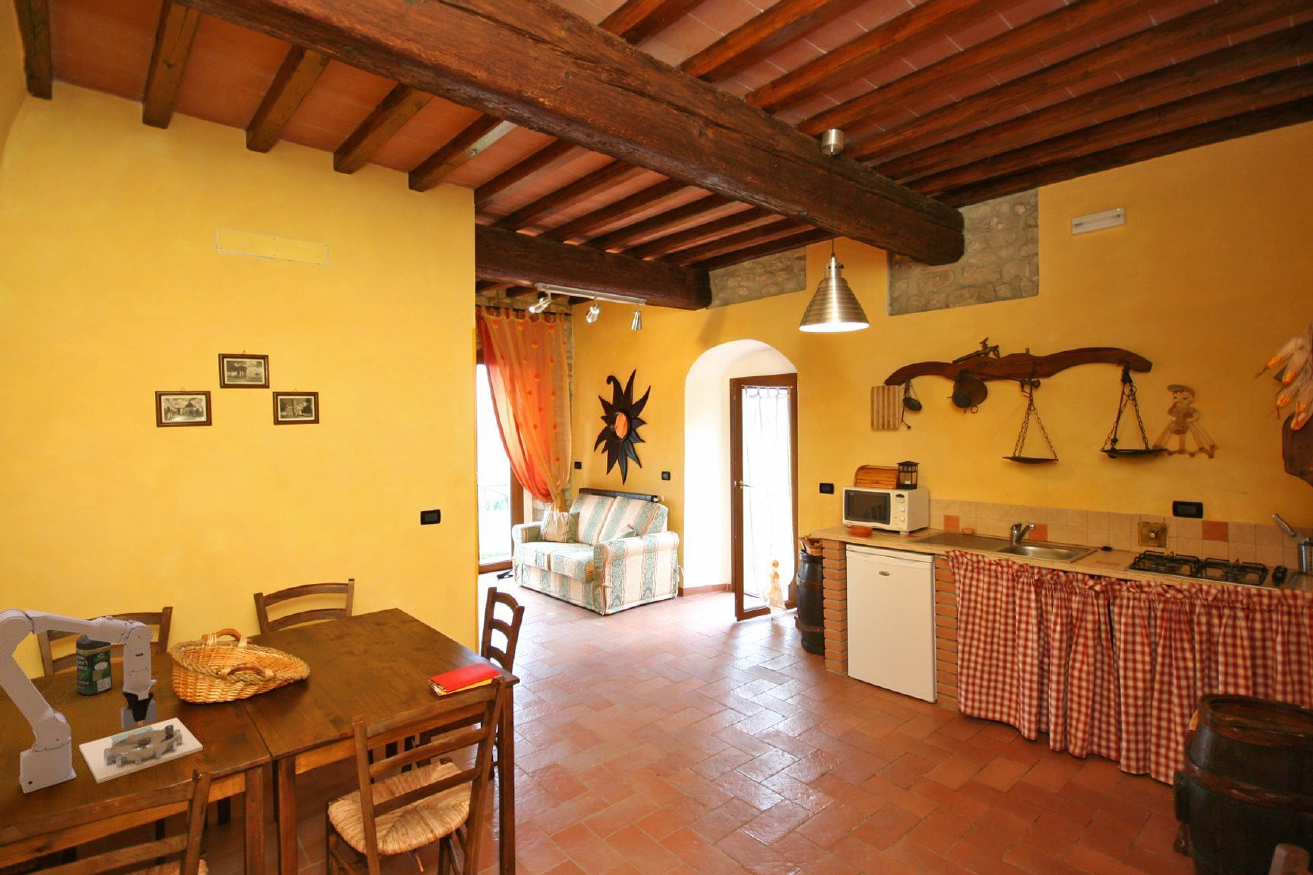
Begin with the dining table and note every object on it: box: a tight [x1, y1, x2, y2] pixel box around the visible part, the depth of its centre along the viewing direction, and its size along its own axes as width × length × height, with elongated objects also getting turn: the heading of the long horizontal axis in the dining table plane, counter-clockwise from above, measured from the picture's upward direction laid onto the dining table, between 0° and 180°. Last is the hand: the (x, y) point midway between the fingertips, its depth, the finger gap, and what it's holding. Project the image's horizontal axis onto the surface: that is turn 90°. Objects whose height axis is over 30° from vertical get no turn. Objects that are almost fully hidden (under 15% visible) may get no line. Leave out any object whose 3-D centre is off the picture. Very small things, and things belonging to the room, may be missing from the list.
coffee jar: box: [75, 634, 113, 696], centre depth 217 cm, size 10×8×19 cm
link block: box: [120, 698, 158, 731], centre depth 176 cm, size 7×4×5 cm, turn 138°
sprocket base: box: [78, 717, 204, 784], centre depth 178 cm, size 22×26×1 cm
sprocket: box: [104, 725, 183, 766], centre depth 176 cm, size 17×17×5 cm
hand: (138, 718), depth 176 cm, fingers closed on link block, 3 cm apart
